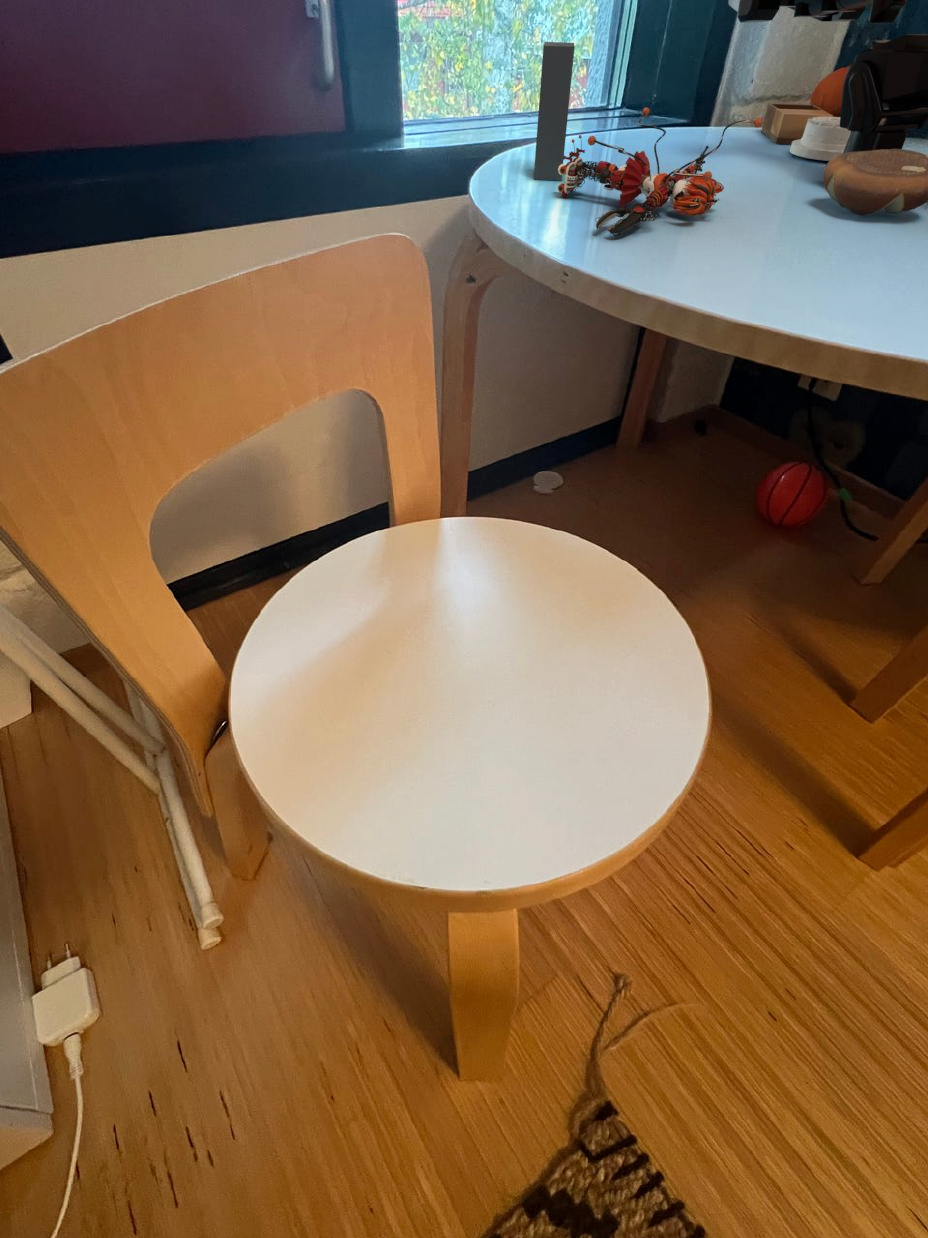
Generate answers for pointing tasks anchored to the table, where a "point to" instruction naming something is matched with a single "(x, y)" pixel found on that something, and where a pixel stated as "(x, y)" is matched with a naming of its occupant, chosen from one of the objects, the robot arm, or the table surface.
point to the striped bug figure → (644, 183)
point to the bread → (878, 180)
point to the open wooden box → (789, 121)
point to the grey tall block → (553, 109)
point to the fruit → (830, 92)
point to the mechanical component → (821, 139)
